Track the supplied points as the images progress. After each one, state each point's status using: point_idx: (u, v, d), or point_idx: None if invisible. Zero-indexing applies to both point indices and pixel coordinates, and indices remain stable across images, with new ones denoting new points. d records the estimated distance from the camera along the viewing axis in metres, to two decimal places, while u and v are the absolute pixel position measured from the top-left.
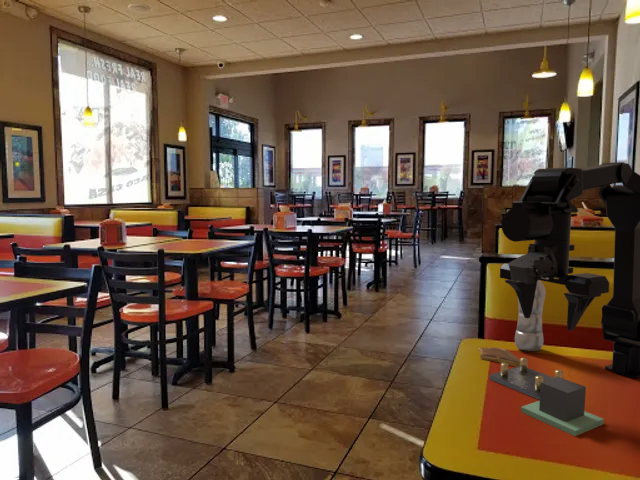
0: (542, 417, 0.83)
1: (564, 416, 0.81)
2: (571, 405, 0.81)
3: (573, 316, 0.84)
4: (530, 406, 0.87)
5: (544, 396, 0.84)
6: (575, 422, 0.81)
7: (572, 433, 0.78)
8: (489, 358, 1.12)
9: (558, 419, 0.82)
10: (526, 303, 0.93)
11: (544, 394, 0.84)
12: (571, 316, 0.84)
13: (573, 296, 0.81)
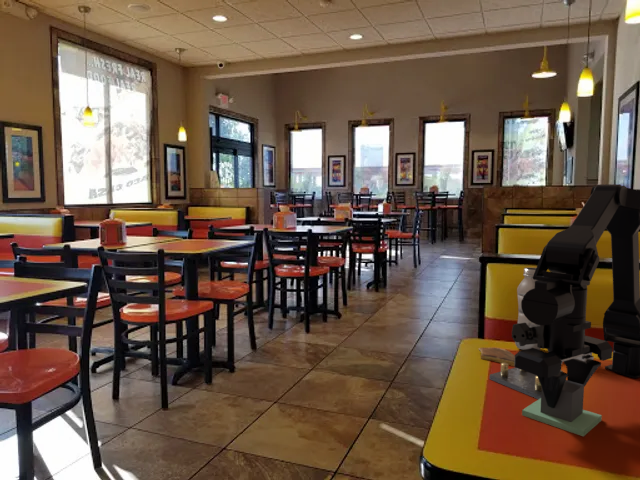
0: (546, 419, 0.82)
1: (568, 416, 0.81)
2: (574, 404, 0.81)
3: (543, 390, 0.83)
4: (530, 408, 0.86)
5: None
6: (579, 421, 0.81)
7: (580, 433, 0.78)
8: (489, 358, 1.12)
9: (562, 420, 0.81)
10: None
11: None
12: None
13: None
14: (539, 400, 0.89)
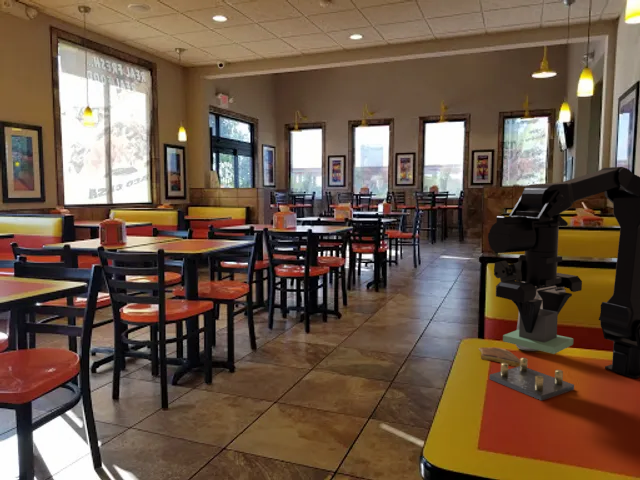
0: (523, 341, 0.93)
1: (542, 337, 0.92)
2: (548, 327, 0.92)
3: (522, 317, 0.94)
4: (510, 334, 0.97)
5: None
6: (551, 342, 0.92)
7: (551, 350, 0.89)
8: (489, 358, 1.12)
9: (537, 341, 0.93)
10: None
11: None
12: (521, 317, 0.94)
13: None
14: None
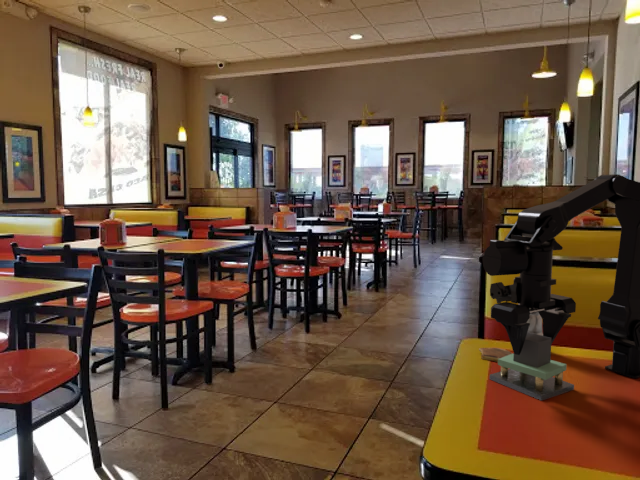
0: (517, 365, 0.96)
1: (535, 363, 0.95)
2: (541, 353, 0.95)
3: (510, 340, 0.96)
4: (505, 358, 1.00)
5: None
6: (544, 367, 0.95)
7: (543, 376, 0.92)
8: (490, 358, 1.12)
9: (530, 366, 0.95)
10: (545, 332, 1.00)
11: None
12: (510, 339, 0.96)
13: None
14: None
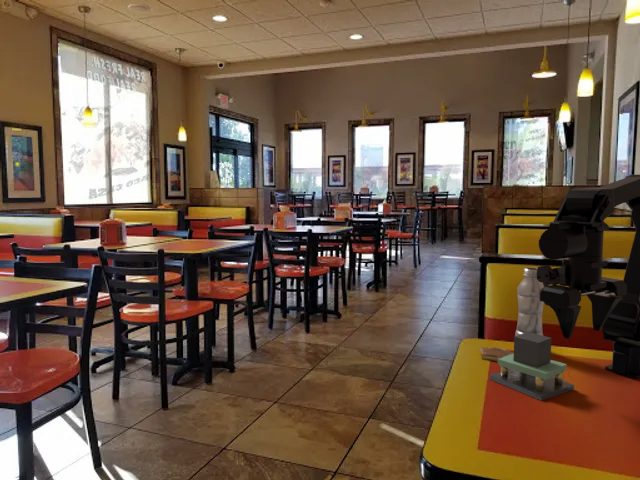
0: (517, 365, 0.96)
1: (535, 363, 0.95)
2: (541, 353, 0.95)
3: (560, 323, 0.93)
4: (505, 358, 1.00)
5: (517, 348, 0.98)
6: (544, 367, 0.95)
7: (543, 376, 0.92)
8: (490, 358, 1.12)
9: (530, 366, 0.95)
10: (595, 316, 0.98)
11: (517, 346, 0.98)
12: (559, 323, 0.94)
13: None
14: None
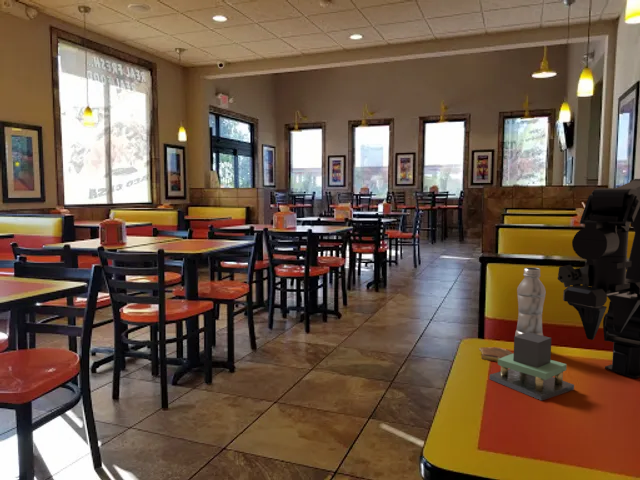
0: (517, 365, 0.96)
1: (535, 363, 0.95)
2: (541, 353, 0.95)
3: (583, 324, 0.92)
4: (505, 358, 1.00)
5: (517, 348, 0.98)
6: (544, 367, 0.95)
7: (543, 376, 0.92)
8: (490, 358, 1.12)
9: (530, 366, 0.95)
10: (616, 317, 0.97)
11: (517, 346, 0.98)
12: (583, 324, 0.92)
13: None
14: None
